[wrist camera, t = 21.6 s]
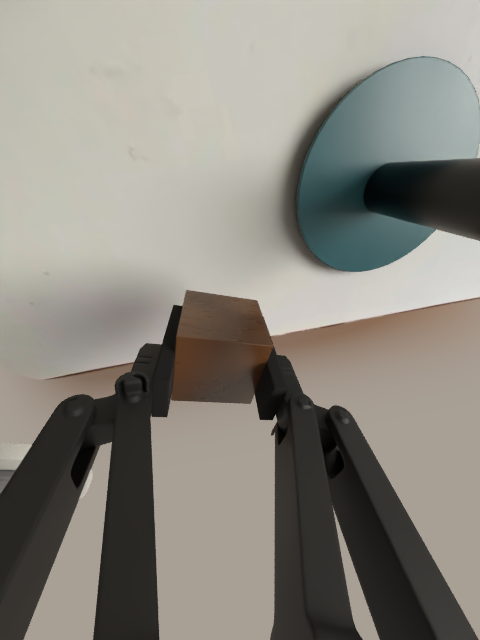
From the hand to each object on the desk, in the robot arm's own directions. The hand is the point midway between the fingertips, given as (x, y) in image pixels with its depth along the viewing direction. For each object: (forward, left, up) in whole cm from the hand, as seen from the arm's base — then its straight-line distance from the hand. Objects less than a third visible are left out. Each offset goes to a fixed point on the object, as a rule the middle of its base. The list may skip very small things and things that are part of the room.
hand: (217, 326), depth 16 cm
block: (0, 0, 0) cm, 0 cm away
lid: (+12, +11, -7) cm, 18 cm away
